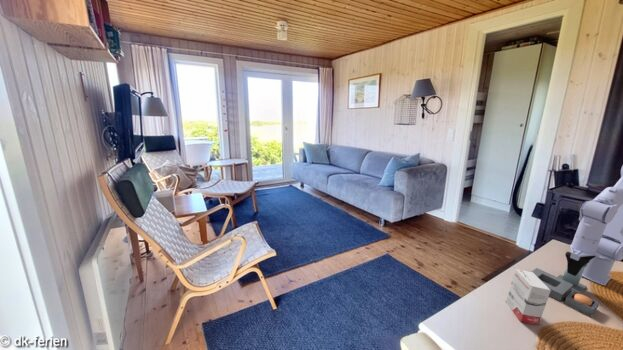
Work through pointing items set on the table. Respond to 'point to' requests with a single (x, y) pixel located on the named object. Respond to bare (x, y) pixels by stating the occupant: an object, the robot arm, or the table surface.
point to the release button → (583, 299)
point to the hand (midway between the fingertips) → (573, 272)
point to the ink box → (527, 296)
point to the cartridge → (572, 278)
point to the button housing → (581, 304)
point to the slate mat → (576, 286)
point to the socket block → (554, 284)
